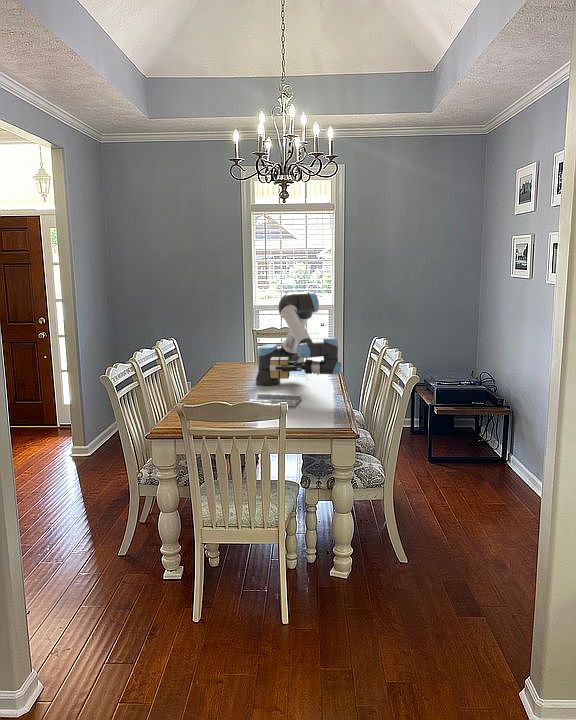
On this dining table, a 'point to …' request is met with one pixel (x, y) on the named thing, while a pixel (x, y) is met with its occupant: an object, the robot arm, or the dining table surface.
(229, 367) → the dining table surface
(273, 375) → the puzzle cube
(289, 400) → the rail base
